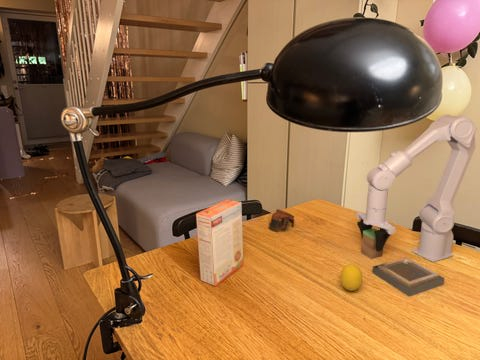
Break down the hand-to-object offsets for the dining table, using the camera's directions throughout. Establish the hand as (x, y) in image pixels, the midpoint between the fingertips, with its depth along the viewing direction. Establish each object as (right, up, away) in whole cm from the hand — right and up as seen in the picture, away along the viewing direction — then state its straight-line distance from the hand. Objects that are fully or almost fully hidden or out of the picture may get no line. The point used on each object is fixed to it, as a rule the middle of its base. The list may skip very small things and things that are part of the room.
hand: (372, 246), depth 111 cm
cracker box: (-48, -6, -9) cm, 49 cm away
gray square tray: (+5, -7, -13) cm, 15 cm away
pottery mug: (-26, +2, +22) cm, 34 cm away
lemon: (-13, -9, -18) cm, 24 cm away
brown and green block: (0, -3, +1) cm, 3 cm away
